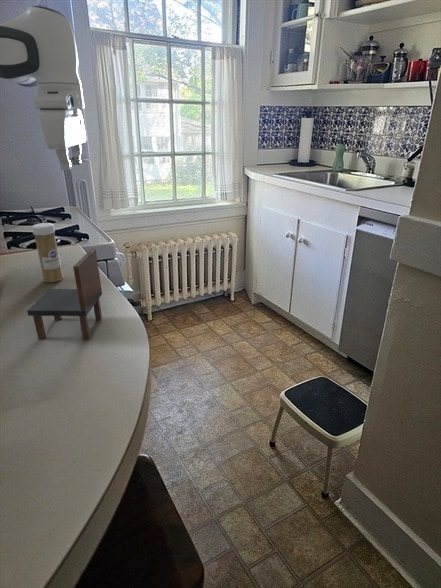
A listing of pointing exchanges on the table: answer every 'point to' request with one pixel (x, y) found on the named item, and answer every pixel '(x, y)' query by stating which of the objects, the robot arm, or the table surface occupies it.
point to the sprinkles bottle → (47, 252)
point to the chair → (72, 297)
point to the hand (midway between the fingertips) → (72, 167)
